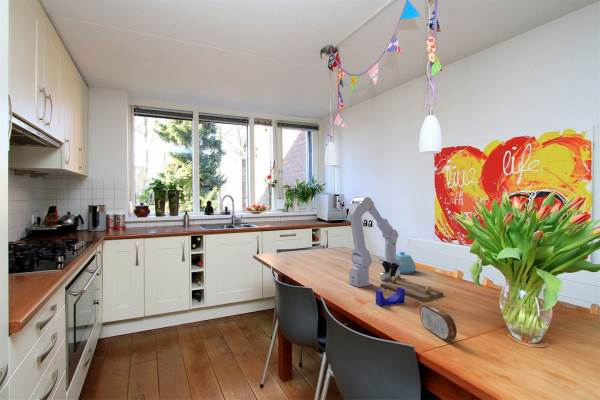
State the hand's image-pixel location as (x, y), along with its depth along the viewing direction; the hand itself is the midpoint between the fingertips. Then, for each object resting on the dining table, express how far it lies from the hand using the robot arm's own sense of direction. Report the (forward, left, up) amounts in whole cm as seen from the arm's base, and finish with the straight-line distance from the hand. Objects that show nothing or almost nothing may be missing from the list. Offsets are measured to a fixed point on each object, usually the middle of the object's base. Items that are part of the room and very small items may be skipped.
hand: (390, 276), depth 162 cm
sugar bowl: (+19, +8, -2) cm, 21 cm away
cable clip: (-28, -24, -2) cm, 37 cm away
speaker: (-37, -52, -2) cm, 64 cm away
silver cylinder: (0, 0, -1) cm, 1 cm away
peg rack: (-8, -19, -1) cm, 21 cm away
